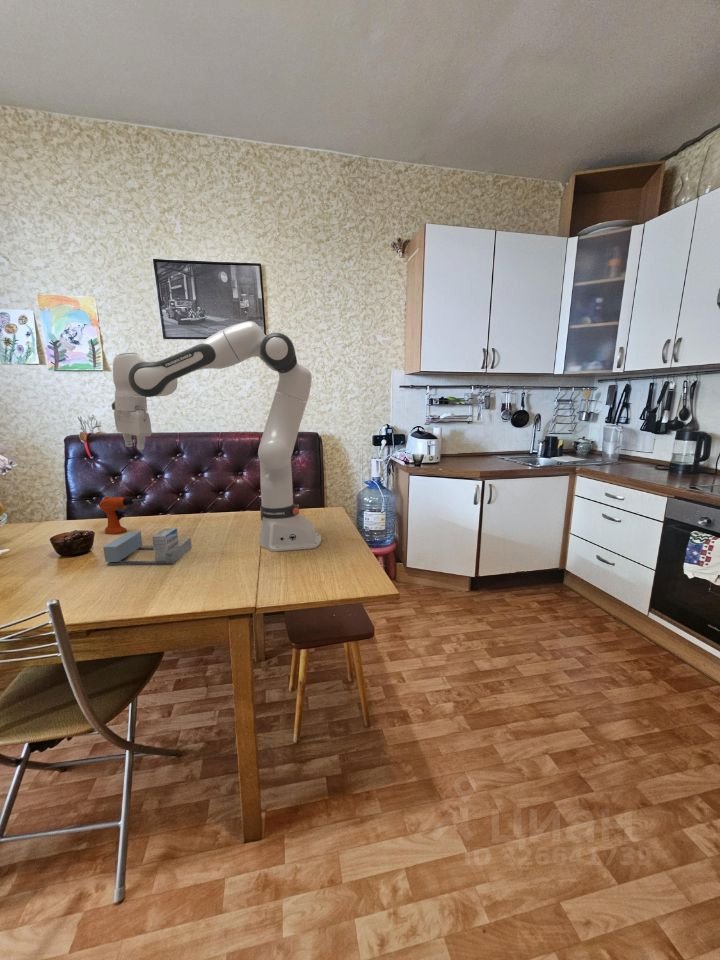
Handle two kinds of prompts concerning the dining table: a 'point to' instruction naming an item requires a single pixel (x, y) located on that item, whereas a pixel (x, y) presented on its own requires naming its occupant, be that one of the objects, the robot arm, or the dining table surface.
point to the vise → (171, 555)
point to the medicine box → (164, 542)
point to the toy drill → (115, 512)
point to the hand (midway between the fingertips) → (134, 448)
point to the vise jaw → (122, 546)
